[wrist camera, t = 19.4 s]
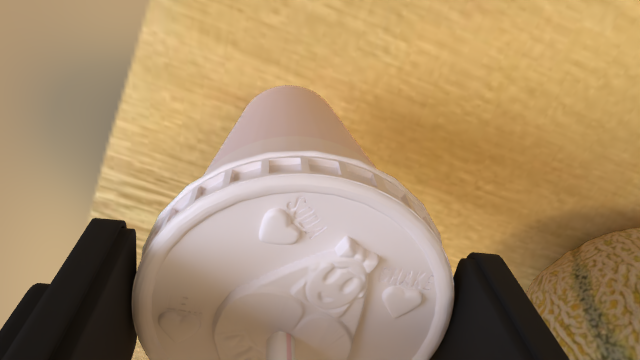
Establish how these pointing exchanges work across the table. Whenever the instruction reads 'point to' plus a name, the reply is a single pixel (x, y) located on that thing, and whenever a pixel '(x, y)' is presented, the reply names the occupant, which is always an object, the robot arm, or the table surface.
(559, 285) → the cantaloupe
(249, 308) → the smoothie
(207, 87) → the table surface
